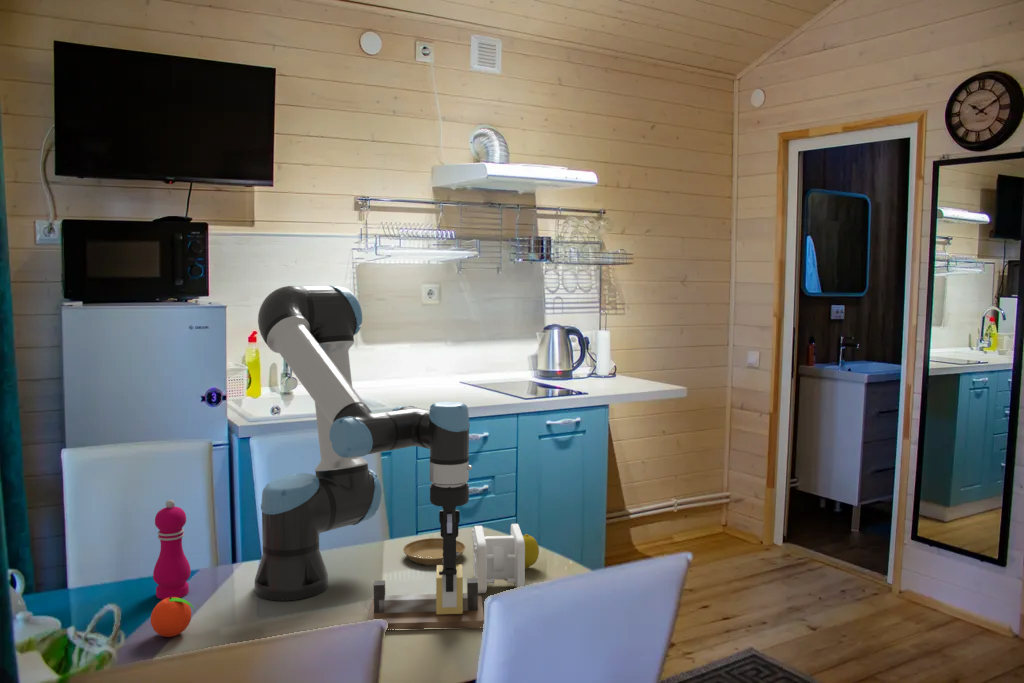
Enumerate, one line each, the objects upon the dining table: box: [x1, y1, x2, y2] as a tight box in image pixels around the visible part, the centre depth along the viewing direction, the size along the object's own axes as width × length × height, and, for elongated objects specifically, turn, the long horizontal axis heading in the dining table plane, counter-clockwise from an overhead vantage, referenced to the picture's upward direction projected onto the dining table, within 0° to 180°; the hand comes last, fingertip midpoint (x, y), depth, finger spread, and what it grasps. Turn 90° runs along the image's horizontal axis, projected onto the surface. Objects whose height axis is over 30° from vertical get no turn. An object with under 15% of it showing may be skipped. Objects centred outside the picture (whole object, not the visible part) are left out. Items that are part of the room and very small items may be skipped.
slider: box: [435, 564, 464, 614], centre depth 155 cm, size 5×7×7 cm
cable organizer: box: [471, 523, 526, 594], centre depth 172 cm, size 15×11×12 cm
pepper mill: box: [152, 499, 192, 600], centre depth 165 cm, size 7×7×20 cm
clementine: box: [150, 597, 196, 638], centre depth 146 cm, size 8×7×7 cm
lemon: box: [522, 533, 540, 569], centre depth 182 cm, size 6×6×8 cm
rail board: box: [366, 577, 485, 630], centre depth 155 cm, size 22×12×7 cm, turn 95°
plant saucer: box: [402, 537, 466, 566], centre depth 189 cm, size 15×15×3 cm
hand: (449, 598), depth 155 cm, fingers closed on slider, 7 cm apart
